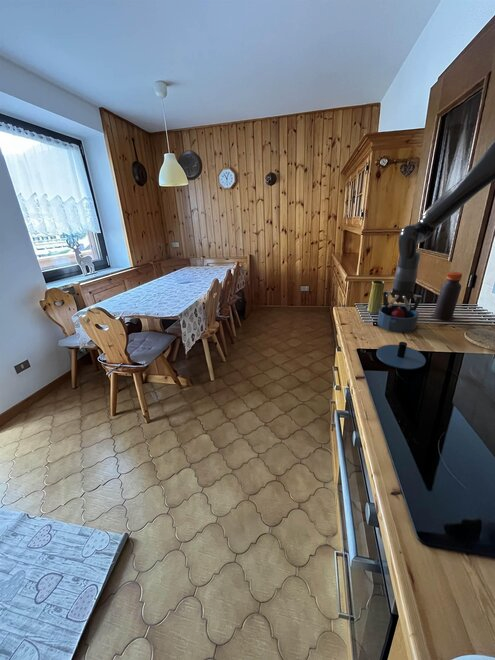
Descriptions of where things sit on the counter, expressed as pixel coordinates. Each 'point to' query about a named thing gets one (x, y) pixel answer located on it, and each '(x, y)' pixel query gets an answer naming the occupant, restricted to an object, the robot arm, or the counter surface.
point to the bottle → (448, 297)
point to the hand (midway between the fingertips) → (397, 316)
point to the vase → (376, 296)
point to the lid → (401, 356)
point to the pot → (397, 320)
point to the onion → (398, 313)
